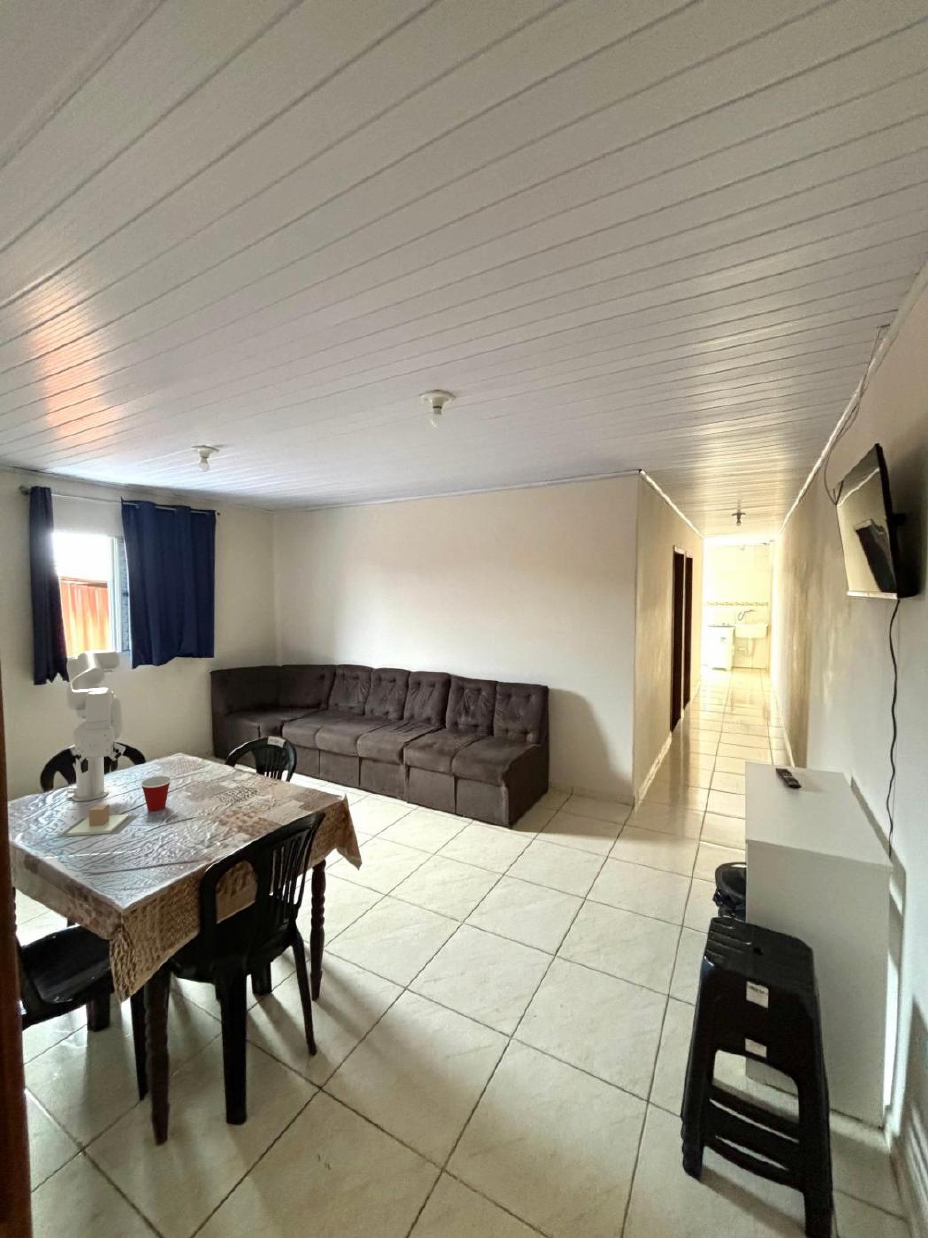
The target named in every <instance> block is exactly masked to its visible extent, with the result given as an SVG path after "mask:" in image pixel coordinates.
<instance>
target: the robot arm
mask: <svg viewBox="0 0 928 1238" xmlns="http://www.w3.org/2000/svg"><path fill="white" fill-rule="evenodd" d="M120 664H121V659H120V655H119V654H118V652H117V651H115V650H114V649H113V650H112V649H111V650H110V649H107V650H105V649H104V650H103V649H102V650H89V651H84V652H81V653H79V655H77V656H76V657H72V658H70V659H68V660H67V661H66V671H67V675H68V677H69V679H70V682H69V683H68V684H67V685H66V690H65V691H66V692H65V693H66V704H67V707H68V708H69V709H70V710H72V711H76V712H75V714H76V717H77V718H78V719H79V720H84V722H81V724H78V725H76V726H75V727H74V728H73V730H72V739H73V745H74V749H72V750H71V752H72V754H73V756H74V758H75V769H76V770H75V771H76V772H75V773H76V774H75V776H76V779H75V780H76V786H75V787H74V786H70V787H69V786H68V787H67V789H66V790H67V791H66V793H67V794H72V797H71V799H72V800H73V801H74V802H89V801H93V800H97V799H101V798H103V797H105V796H108V794H109V792H110V791H109V789H108V788H105V771H104V770H105V767H104V765H105V764H104V761H105V760H104V759H105V758H104V757H109V758H110V759H111V760H110V771H111V772H114V771H116V770H117V769H118V768H119V758H120V757H121V756H122V755H123V754H124V752H125V750H126V746H124V745H121V744H120V743H117V742H119V741H120V740H121V739H122V738H123V735H124V734H123V733H124V728H123V726H124V725H123V713H122V703H121V699H120V698H119V696H117V695H115V694H114V691H112V689H111V688H109V687H100V684H101V683H103V681H104V680H105V678H106V675H107V676H108V675H113V674H115V673H116V672H117V671H118V669H119V668H120ZM117 750H118V752H116V751H117Z"/></svg>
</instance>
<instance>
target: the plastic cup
mask: <svg viewBox="0 0 928 1238" xmlns="http://www.w3.org/2000/svg"><path fill="white" fill-rule="evenodd" d="M171 782H172V777H171V776H167V775H155V776H151V777H147V778H146V779H143V780H142V781H140V783H139V784H140V786H141V788H142V791H143V795H144V799H145V804H146V809H147V810H148V811H149V812H158V811H161V810H163V809H165V808H166V805H167V798H168V793H169V788H170V784H171Z"/></svg>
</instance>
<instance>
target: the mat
mask: <svg viewBox="0 0 928 1238" xmlns="http://www.w3.org/2000/svg"><path fill="white" fill-rule="evenodd" d="M138 817H140V816H139V815H129V818H127V819H126V820H125V821H124V822H123V823H122V824H120V825H119V826H118V827H117V828H116V829H115V830H113V831H112V832H111V833H104V834H89V835H73V836H67V833H68V832H69V831H70V830H72V829H73V828H75V827H76V826H77V825H79V824H80V823H81V822H83V821H84V820H85V819H87V818H88V817H86V818H80V820H78V821H77V822H75V823H74V824H73V825H71V826H70V827H69V828H67V829H65V830H64V831H63V832H61V834H59V835H58V836H56V837H55V838H56V839H58V838H59V839H63V838H73V837H74V838H75V837H88V836H90V837H91V836H104V835H105V836H108V835H118V834H120V833H121V832H122V831H123V830H125V829H126V827H127V826H129V825H130V824H131V823H132V822H133V821H134V820H135V819H137V818H138Z"/></svg>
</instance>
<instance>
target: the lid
mask: <svg viewBox="0 0 928 1238" xmlns="http://www.w3.org/2000/svg"><path fill="white" fill-rule="evenodd" d="M129 816H130V814H129V813H128V814H113V815H110V805H109V804H96V805H94V806H93V807H91V808H90V809H88V816H87V817H86V818H87V819H86V818H84V819H85V820H84V821H83V822H81V823H80V824H79V825H77V826H76V827H75V828H73V829H72V830H70V831H69V832H68V833H67V836H73V835H89V834H104V833H111V832H112V831H113V830H115V829H116V828H117V827H118V826H119V825H120V824H122V823H123V822H124V821H125V820H126V819H127V818H129Z"/></svg>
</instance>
